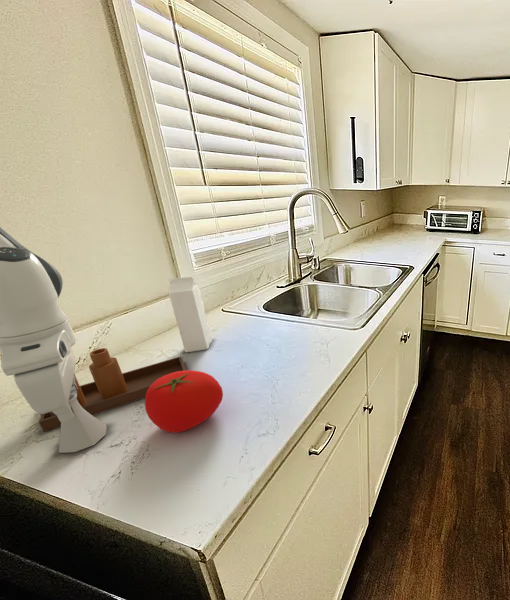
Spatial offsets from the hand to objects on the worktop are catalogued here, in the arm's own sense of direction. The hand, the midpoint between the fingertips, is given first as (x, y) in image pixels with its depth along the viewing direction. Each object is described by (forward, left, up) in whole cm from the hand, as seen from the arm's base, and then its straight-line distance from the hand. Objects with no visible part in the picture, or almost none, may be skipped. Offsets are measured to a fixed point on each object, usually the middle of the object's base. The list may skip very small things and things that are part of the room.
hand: (70, 405), depth 62 cm
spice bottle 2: (+5, +14, -8) cm, 17 cm away
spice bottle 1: (-3, +14, -8) cm, 17 cm away
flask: (0, 0, -9) cm, 9 cm away
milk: (+25, +28, -9) cm, 38 cm away
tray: (+6, +14, -8) cm, 18 cm away
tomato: (+17, -8, -9) cm, 20 cm away
